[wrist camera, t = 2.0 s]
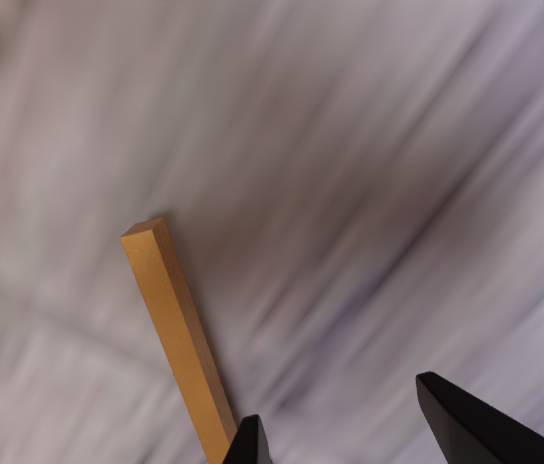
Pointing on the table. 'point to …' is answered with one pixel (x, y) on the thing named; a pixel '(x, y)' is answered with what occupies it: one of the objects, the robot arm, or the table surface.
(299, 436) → the table surface
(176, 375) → the orange bar
